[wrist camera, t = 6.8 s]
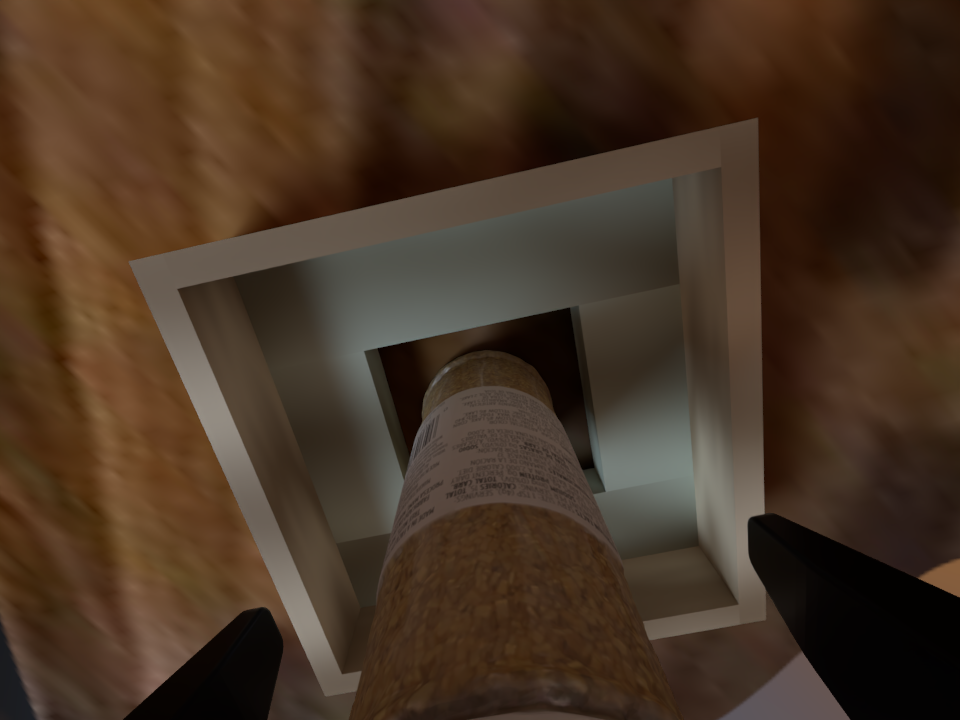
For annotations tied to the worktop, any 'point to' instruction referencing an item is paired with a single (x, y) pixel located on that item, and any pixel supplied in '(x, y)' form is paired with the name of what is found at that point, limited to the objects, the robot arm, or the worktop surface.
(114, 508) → the worktop surface
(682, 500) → the peg box
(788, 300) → the worktop surface
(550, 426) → the sprinkles bottle
